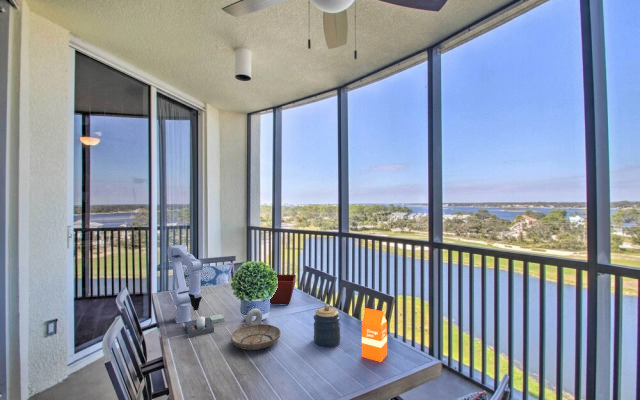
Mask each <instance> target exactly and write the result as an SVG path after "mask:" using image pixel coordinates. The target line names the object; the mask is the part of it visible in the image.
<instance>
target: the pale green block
mask: <svg viewBox="0 0 640 400" xmlns="http://www.w3.org/2000/svg"><path fill="white" fill-rule="evenodd" d="M208 318H209V319H210V321H211V323H212V325H213V324H218V323H224V322H225V317H224V315H223V314H222V313H220V314H219V313H218V314H216V315H215V314H214V315H209V317H208Z"/></svg>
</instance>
